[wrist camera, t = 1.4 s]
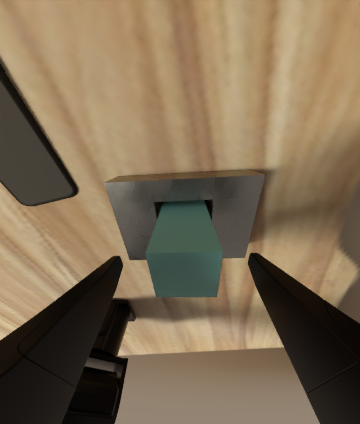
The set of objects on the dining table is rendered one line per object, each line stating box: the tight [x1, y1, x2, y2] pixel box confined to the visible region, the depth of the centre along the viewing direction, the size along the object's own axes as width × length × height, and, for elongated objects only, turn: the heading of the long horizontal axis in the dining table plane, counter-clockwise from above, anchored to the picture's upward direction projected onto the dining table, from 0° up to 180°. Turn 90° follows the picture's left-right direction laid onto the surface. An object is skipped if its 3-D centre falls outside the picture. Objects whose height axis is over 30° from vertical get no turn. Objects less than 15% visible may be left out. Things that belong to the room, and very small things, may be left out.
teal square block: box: [145, 200, 223, 297], centre depth 11 cm, size 4×4×8 cm
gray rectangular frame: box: [104, 169, 265, 260], centre depth 13 cm, size 9×13×2 cm
